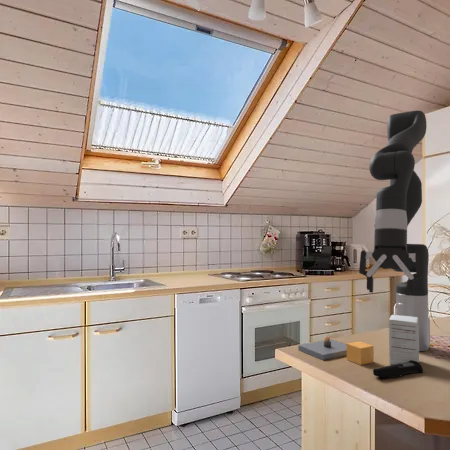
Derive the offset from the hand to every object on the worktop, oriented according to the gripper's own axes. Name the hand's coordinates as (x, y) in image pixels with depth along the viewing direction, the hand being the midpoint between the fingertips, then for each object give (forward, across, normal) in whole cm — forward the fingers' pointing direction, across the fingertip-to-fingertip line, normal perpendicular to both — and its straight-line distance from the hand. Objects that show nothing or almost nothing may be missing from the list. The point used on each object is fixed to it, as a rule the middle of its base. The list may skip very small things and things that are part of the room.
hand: (389, 293), depth 93 cm
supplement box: (+20, -3, -21) cm, 29 cm away
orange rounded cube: (+20, +9, -16) cm, 27 cm away
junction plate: (+20, +19, -21) cm, 34 cm away
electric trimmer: (+21, -2, -10) cm, 23 cm away
